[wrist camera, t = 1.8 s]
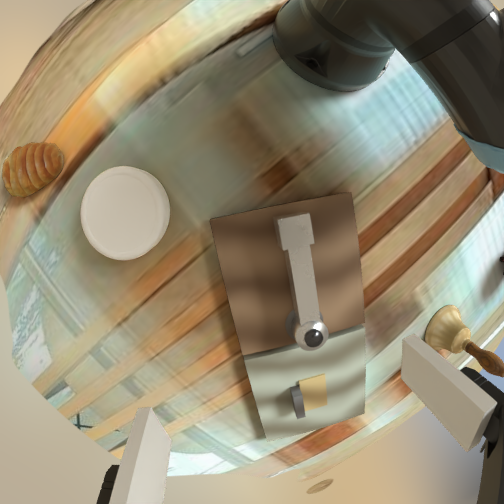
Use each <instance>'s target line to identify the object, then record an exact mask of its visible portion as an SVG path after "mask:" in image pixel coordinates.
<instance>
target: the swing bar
mask: <svg viewBox="0 0 504 504" xmlns="http://www.w3.org/2000/svg"><path fill="white" fill-rule="evenodd" d="M273 221H274V227H275V232H276V237H277V242H278V246H279V247H280V248H281V249H282V250H284V254H285V260H286V266H287V271H288V277H289V283H290V289H291V294H292V300H293V306H294V313H295V317H294V319H293V320H292V323H291V331H292V333H293V335H294V337H295V339H296V341H297V343H298V345H299V347H300V348H301V349H303V350H306V351H314V350H317V349H319V348H321V347H322V346H323V345H324V344H325V343H326V341H327V339H328V329H327V327H326V326H325V324H324V323H323V322H322V321H321V319H320V313H319V305H318V297H317V290H316V283H315V276H314V269H313V262H312V256H311V249H310V244H314V237H313V231H312V225H311V219H310V213H306V212H298V213H293V214H288V215H283V216H278V217H273Z"/></svg>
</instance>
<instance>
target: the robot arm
mask: <svg viewBox="0 0 504 504" xmlns="http://www.w3.org/2000/svg"><path fill="white" fill-rule="evenodd" d="M273 40H274V44H275V46H276V49H277V51H278V53H279V54H280V56H281V57H282V59H283V60H284V61H285V63H286V64H287V65H288V66H289V67H290V68H291V69H292V70H293V71H295V72H296V73H297V74H298V75H300V76H301V77H303V78H304V79H306V80H308V81H309V82H311V83H313V84H315V85H318V86H320V87H323V88H326V89H330V90H335V91H355V90H359V89H362V88H365V87H367V86H368V85H370V84H371V83H373V82H374V81H376V80H377V79H378V78H380V77H381V75H382V74H383V73H384V72H385V70H386V68H387V66H388V63H389V59H390V57H391V56H392V54H393V52H394V50H395V48H396V49H397V50H398V51H399V52H400V53H401V54H402V56H403V57H404V58H405V59H406V60H407V61H408V62H409V64H410V65H411V66H412V67H413V68H414V69H415V71H416V72H417V73H418V74H419V75H420V77H421V78H422V79H423V80H424V82H425V83H426V84H427V85H428V87H429V88H430V89H431V91H432V92H433V93H434V95H435V96H436V97H437V99H438V100H439V101H440V103H441V104H442V106H443V107H444V108H445V110H446V111H447V113H448V114H449V116H450V117H451V119H452V120H453V122H454V126H455V128H456V130H457V131H458V132H459V134H460V135H461V136H462V137H463V138H464V139H465V140H466V142H467V143H468V145H469V147H470V148H471V150H472V151H473V153H474V154H475V156H476V157H477V158H478V159H479V161H480V162H482V163H483V164H484V165H485V166H487V167H489V168H492V169H495V170H496V171H498V172H500V173H504V8H503V9H502V10H500V11H498V10H497V9H496V8H495V7H494V6H493V4H492V3H491V2H490V1H489V0H288V1H287V2H286V3H285V4H284V5H283V6H282V7H281V9H280V10H279V12H278V14H277V16H276V19H275V22H274V25H273ZM401 379H402V380H403V381H404V382H405V383H406V384H407V385H408V386H409V388H410V389H411V390H412V391H413V392H414V393H415V394H416V395H417V396H418V397H419V399H420V400H421V401H422V402H423V403H424V404H425V405H426V406H427V408H428V409H429V410H430V411H431V412H432V413H433V414H434V415H435V416H436V418H437V419H438V420H439V421H440V422H441V423H442V424H443V426H444V427H445V428H446V429H447V430H448V431H449V432H450V433H451V435H452V436H453V437H454V438H455V439H456V440H457V441H458V443H459V444H460V445H461V446H462V447H463V448H464V450H465V451H466V452H467V451H469V450H471V449H472V448H473V447H475V446H476V445H477V444H478V443H479V442H480V440H481V438H482V436H484V437H485V438H486V440H485V443H484V444H483V446H482V448H481V451H480V452H482V451H483V450H484V448H485V450H484V461H483V470H482V477H481V484H480V490H479V495H478V501H477V504H504V393H503V392H502V391H501V390H499V389H498V388H497V387H496V386H494V385H493V384H492V383H491V382H489V381H487V379H486V378H484V377H482V375H480V374H479V373H478V372H477V371H476V370H474V369H471V368H468V367H464V368H463V369H461V370H459V369H457V368H456V367H455V366H454V365H452V364H451V363H450V362H449V361H448V360H446V359H445V358H444V357H443V356H441V355H440V354H439V353H438V352H436V351H435V350H434V349H433V348H431V347H430V346H429V345H428V344H426V343H425V342H424V341H423V340H421V339H420V338H419V337H418V336H416V335H415V334H412V335H410V336H408V337H406V338H404V339H403V342H402V369H401ZM171 444H172V440H171V438H170V437H169V435H168V434H167V432H166V431H165V429H164V428H163V426H162V424H161V423H160V421H159V420H158V418H157V416H156V415H155V413H154V411H153V410H152V408H151V407H146V408H138V409H137V412H136V415H135V418H134V421H133V425H132V428H131V431H130V434H129V437H128V440H127V443H126V446H125V450H124V453H123V456H122V460H121V463H120V465H112V466H111V467H110V468H109V469H108V471H107V472H106V475H105V478H104V482H103V484H102V489H101V490H100V494H99V497H98V500H97V504H163V501H164V493H165V485H166V478H167V471H168V464H169V457H170V450H171Z"/></svg>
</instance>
